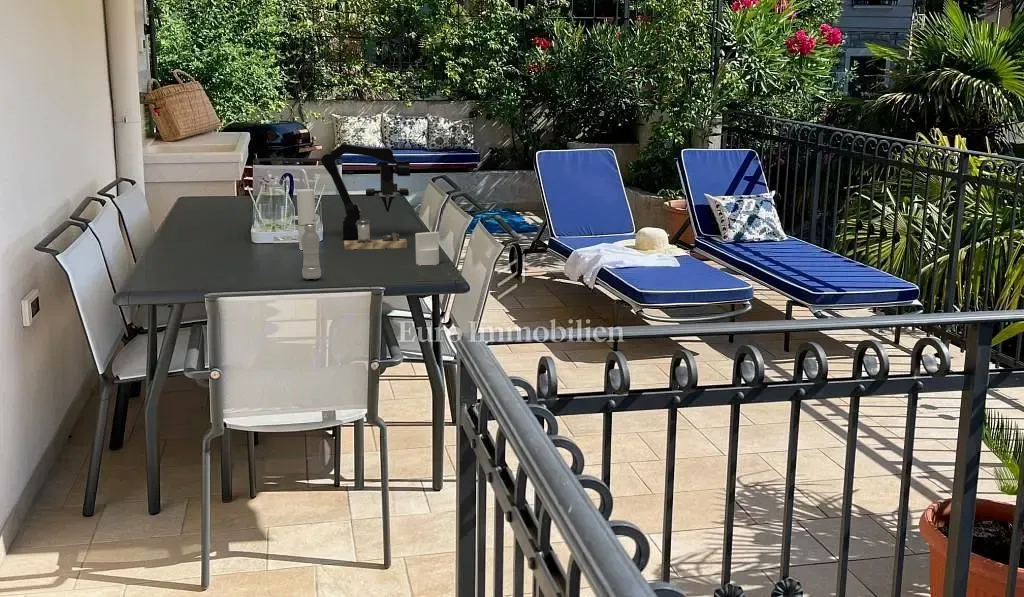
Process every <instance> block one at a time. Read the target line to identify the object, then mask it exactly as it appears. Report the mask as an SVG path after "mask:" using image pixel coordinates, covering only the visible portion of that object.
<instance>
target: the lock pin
mask: <svg viewBox="0 0 1024 597" xmlns="http://www.w3.org/2000/svg"><path fill="white" fill-rule="evenodd" d="M396 234H397V241H399V239H400V234H399V233H396ZM381 240H383V241H389V240H393V235H392V234H383V235H382V239H381Z"/></svg>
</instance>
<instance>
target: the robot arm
mask: <svg viewBox="0 0 1024 597" xmlns="http://www.w3.org/2000/svg"><path fill="white" fill-rule="evenodd" d="M344 154H352V155H358V156H359V155H360V156H365V157H366V156H367V157H372V158H375V159H377V160H378V162H377V163H376V164H375V166H376V167H379V171H380V175H379V176H380V182H379V183H380V189H378V190H377V189H375V188H370V187H369V188H366V189H365V196H366V197H374V196H375V195H378V198H379V199H381V200H382V203H383V206H384V208H385V211H386V213H387V212H388V213H389V211H390V208H391V205H392V202H393V200H394V199H395V198H396V197H397V196H396V195H400V196H401V197H409V196H410V195H409V194H410V191H409V188H407V187H403V188H401V187H399V189H398V183H394V179H395V178H394V175H397V177H411V164H410V163H411V161H410V160H397V158H395V156H394V152H393V150H392V149H391V148H390V147H388V146H382V147H381V146H379V147H370V146H362V145H355V144H349V143H346V142H343V143H340V145H339V146H338V147H336V148H335V149H333V150H332V151H330V152H325V153H324V154H323V155H322V156H321V161H320V162H321V164H322V165H323V167H324V169H325V170H326V171H327V172H328V173H329V174H328V175H330V177H331V179H332V181H333V183H334V185H335V188H336V190H337V192H338V194H339V196H340V198H341V201H342V203H343V205H344V211H345V214H346V216H344V217H343V219H342V224H341V225H342V226H341V227H342V240H343V241H352V240H358V223H357V220H361V213H362V209H360V207H359V203H358V202H354V201H353V200H352V198H351V196H350V194H349V191H348V189H347V187H346V184H345V183H344V181H343V178H342V176H341V174H340V172H339V169H338V163H337V160H338V159H339V158H340V157H342V156H343V155H344ZM386 196H388V198H386ZM387 199H388V200H387ZM356 223H357V224H356Z"/></svg>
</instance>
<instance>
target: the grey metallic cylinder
mask: <svg viewBox="0 0 1024 597" xmlns="http://www.w3.org/2000/svg"><path fill="white" fill-rule="evenodd" d="M356 223H357V228H358V239H357V240H358V243H370V240H371V236H370V235H371V234H370V233H371V232H370V224H371V221H370V219H359V220H357V222H356Z"/></svg>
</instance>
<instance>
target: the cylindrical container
mask: <svg viewBox="0 0 1024 597" xmlns="http://www.w3.org/2000/svg"><path fill="white" fill-rule="evenodd" d="M296 204H297V205H296V206H297V208H296V209H297V225H298V226H297V227H298V228H297V229H298V247H299V249H300V250H303V248H302V242H301V238H302V236H303V234H304V232H305V230H304V225H305V224H315V232H316V233H317V221H316V198H315V189H311V188H302V189H297V190H296ZM300 250H299V251H300Z"/></svg>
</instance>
